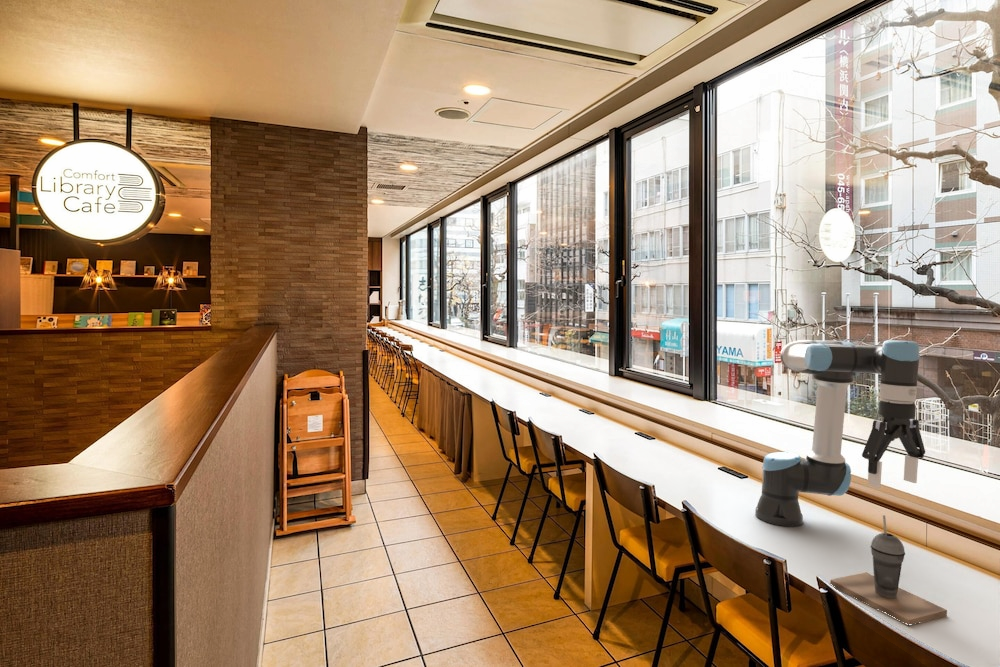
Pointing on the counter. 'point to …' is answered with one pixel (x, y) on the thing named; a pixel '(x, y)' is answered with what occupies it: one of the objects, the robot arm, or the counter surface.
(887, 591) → the beverage cup
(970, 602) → the counter surface
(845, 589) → the serving board
